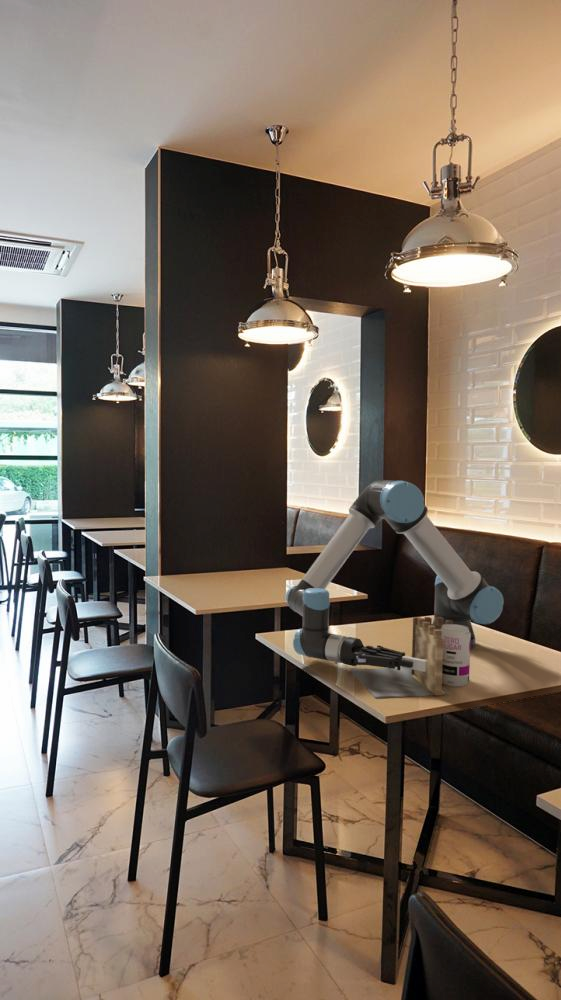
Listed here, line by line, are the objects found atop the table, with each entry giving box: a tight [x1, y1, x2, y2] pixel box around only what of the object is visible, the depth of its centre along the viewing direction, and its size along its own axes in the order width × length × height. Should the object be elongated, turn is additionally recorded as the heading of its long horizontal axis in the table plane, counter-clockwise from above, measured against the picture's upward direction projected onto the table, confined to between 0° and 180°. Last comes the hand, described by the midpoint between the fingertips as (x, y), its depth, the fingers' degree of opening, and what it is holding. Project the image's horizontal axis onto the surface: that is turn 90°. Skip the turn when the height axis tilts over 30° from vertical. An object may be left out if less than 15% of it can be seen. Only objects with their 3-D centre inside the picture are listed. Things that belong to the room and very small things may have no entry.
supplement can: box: [440, 624, 471, 688], centre depth 179 cm, size 8×8×15 cm
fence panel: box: [414, 617, 443, 696], centre depth 175 cm, size 16×2×16 cm, turn 8°
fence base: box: [349, 616, 453, 699], centre depth 179 cm, size 28×22×16 cm
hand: (426, 666), depth 172 cm, fingers closed
